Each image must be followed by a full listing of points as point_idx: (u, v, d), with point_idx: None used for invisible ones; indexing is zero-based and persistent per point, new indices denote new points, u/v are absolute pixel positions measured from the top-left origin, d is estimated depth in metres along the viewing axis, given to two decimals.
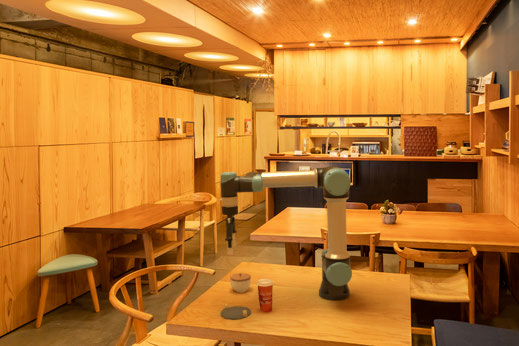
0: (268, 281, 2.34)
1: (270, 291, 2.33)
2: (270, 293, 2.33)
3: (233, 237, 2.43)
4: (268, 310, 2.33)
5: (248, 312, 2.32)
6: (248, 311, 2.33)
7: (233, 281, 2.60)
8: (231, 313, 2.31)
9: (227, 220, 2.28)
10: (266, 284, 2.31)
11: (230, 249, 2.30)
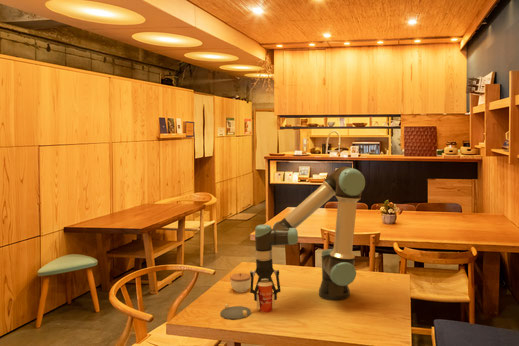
0: (268, 281, 2.34)
1: (270, 291, 2.33)
2: (270, 293, 2.33)
3: None
4: (268, 310, 2.33)
5: (248, 312, 2.32)
6: (248, 311, 2.33)
7: (233, 281, 2.60)
8: (231, 313, 2.31)
9: None
10: (266, 284, 2.31)
11: (257, 302, 2.36)
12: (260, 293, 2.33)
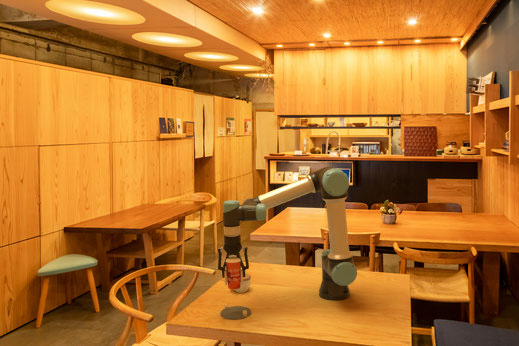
0: (236, 257, 2.29)
1: (238, 268, 2.29)
2: (238, 270, 2.29)
3: (241, 274, 2.31)
4: (236, 287, 2.29)
5: (248, 312, 2.32)
6: (248, 311, 2.33)
7: None
8: (231, 313, 2.31)
9: None
10: (234, 260, 2.27)
11: (225, 279, 2.31)
12: (228, 270, 2.29)
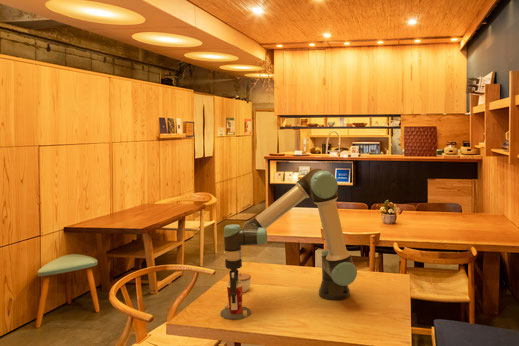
0: None
1: None
2: None
3: None
4: None
5: (248, 312, 2.32)
6: (248, 311, 2.33)
7: None
8: None
9: (231, 275, 2.24)
10: None
11: (234, 304, 2.25)
12: (239, 294, 2.30)
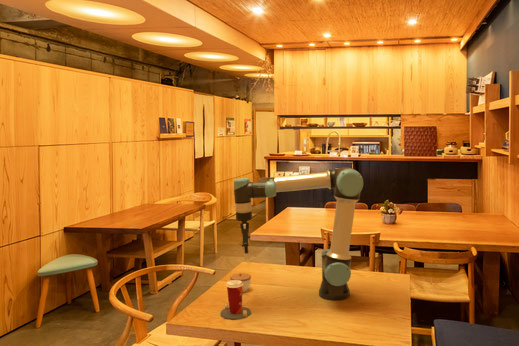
0: (236, 281, 2.33)
1: None
2: None
3: None
4: None
5: (248, 312, 2.32)
6: (248, 311, 2.33)
7: None
8: None
9: (243, 226, 2.30)
10: (241, 282, 2.32)
11: (247, 255, 2.31)
12: (239, 294, 2.30)
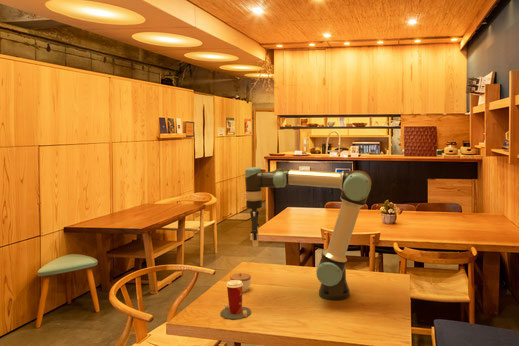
0: (236, 281, 2.33)
1: None
2: None
3: None
4: None
5: (248, 312, 2.32)
6: (248, 311, 2.33)
7: None
8: None
9: (252, 213, 2.37)
10: None
11: (255, 241, 2.39)
12: (239, 294, 2.30)
